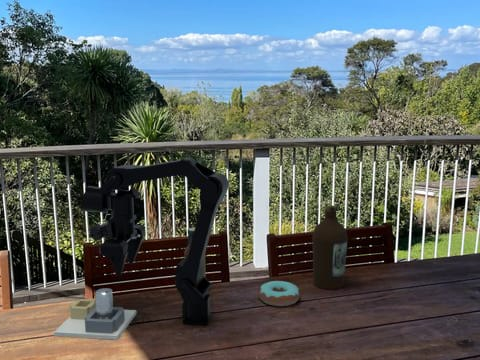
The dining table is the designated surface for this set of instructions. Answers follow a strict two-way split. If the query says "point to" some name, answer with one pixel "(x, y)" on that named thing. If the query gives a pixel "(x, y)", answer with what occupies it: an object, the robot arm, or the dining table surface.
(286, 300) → the donut
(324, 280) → the olive oil
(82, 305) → the fitting plate
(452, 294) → the dining table surface
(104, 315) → the metal cylinder
